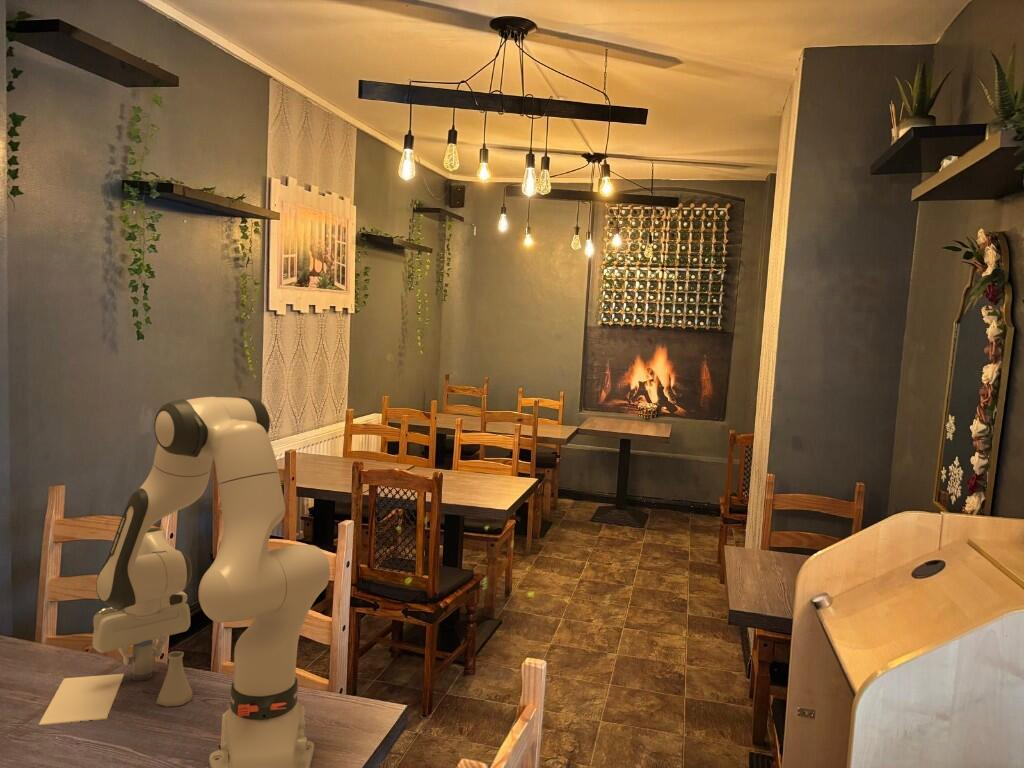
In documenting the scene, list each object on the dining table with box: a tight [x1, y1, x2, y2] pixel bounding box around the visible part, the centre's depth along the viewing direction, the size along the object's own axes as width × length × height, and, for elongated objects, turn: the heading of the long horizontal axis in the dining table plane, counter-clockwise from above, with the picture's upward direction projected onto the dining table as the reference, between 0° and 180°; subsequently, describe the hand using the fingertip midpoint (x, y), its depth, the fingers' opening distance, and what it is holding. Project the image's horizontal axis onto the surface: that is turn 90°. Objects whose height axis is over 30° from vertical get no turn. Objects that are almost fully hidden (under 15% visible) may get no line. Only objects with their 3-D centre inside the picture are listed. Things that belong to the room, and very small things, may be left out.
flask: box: [156, 650, 194, 707], centre depth 164 cm, size 7×7×10 cm
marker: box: [131, 640, 154, 682], centre depth 173 cm, size 4×4×9 cm
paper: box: [38, 673, 125, 726], centre depth 163 cm, size 20×12×1 cm, turn 18°
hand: (142, 659), depth 173 cm, fingers open, 5 cm apart
